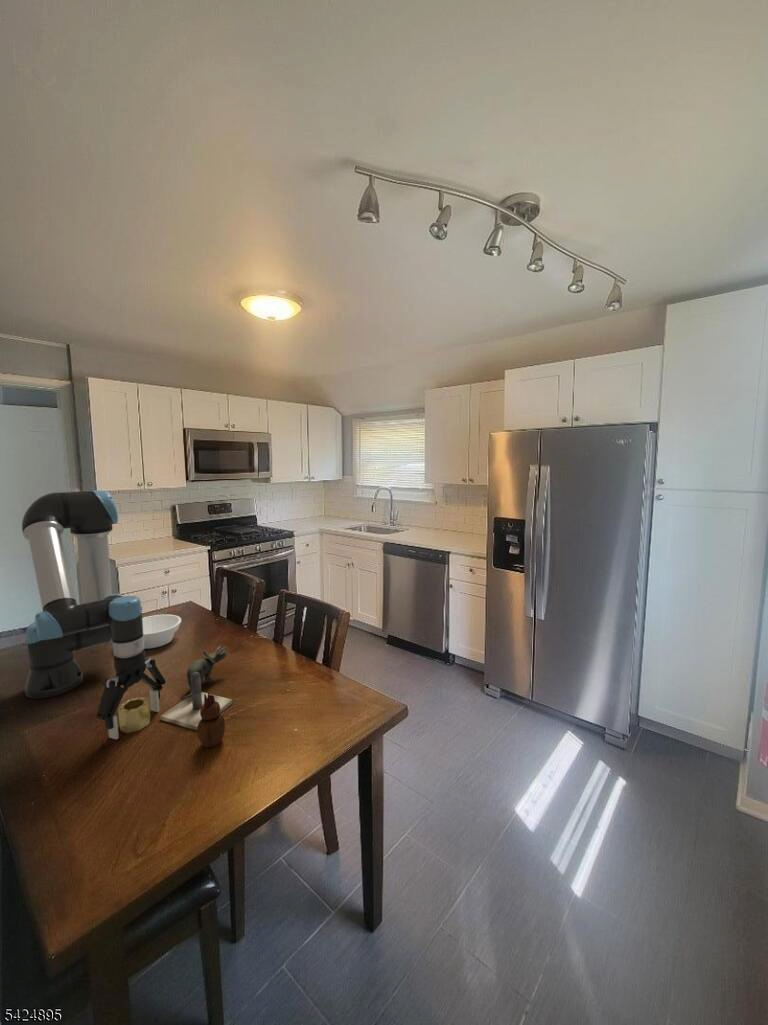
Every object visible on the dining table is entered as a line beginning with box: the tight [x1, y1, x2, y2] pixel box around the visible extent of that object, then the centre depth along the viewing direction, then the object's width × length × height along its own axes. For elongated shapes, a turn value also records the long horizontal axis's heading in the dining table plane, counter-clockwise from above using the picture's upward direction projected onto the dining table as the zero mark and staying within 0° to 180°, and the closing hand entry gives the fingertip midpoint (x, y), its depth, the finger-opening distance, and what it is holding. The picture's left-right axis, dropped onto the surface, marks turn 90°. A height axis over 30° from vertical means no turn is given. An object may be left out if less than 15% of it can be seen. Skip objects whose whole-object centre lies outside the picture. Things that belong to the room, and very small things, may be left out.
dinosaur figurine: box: [182, 643, 228, 699], centre depth 138 cm, size 22×8×11 cm, turn 167°
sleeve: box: [117, 696, 151, 734], centre depth 120 cm, size 7×7×6 cm
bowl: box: [142, 614, 182, 650], centre depth 172 cm, size 21×21×8 cm
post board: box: [160, 672, 234, 731], centre depth 125 cm, size 14×14×12 cm
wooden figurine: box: [196, 692, 226, 749], centre depth 111 cm, size 7×6×15 cm
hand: (135, 723), depth 120 cm, fingers open, 12 cm apart
